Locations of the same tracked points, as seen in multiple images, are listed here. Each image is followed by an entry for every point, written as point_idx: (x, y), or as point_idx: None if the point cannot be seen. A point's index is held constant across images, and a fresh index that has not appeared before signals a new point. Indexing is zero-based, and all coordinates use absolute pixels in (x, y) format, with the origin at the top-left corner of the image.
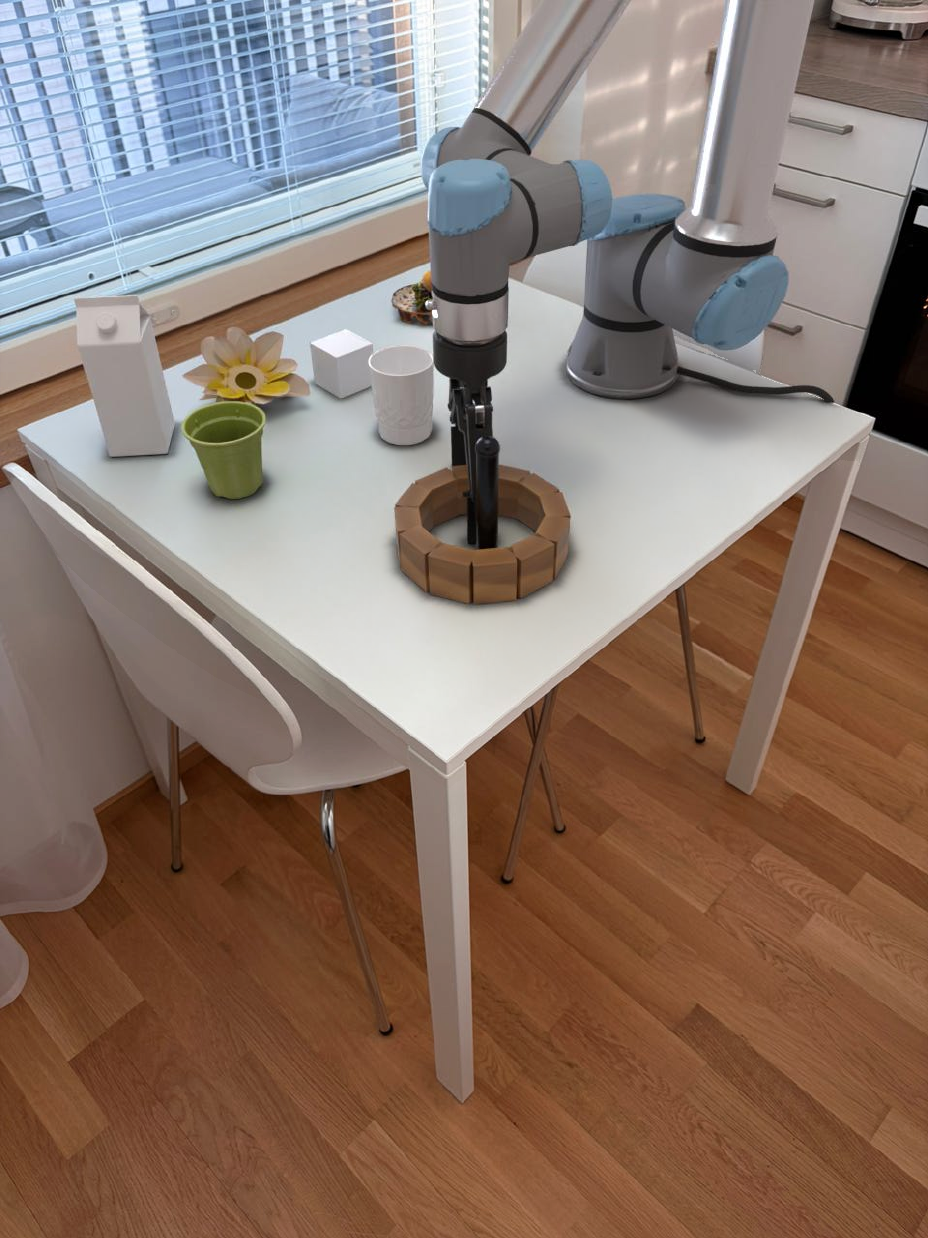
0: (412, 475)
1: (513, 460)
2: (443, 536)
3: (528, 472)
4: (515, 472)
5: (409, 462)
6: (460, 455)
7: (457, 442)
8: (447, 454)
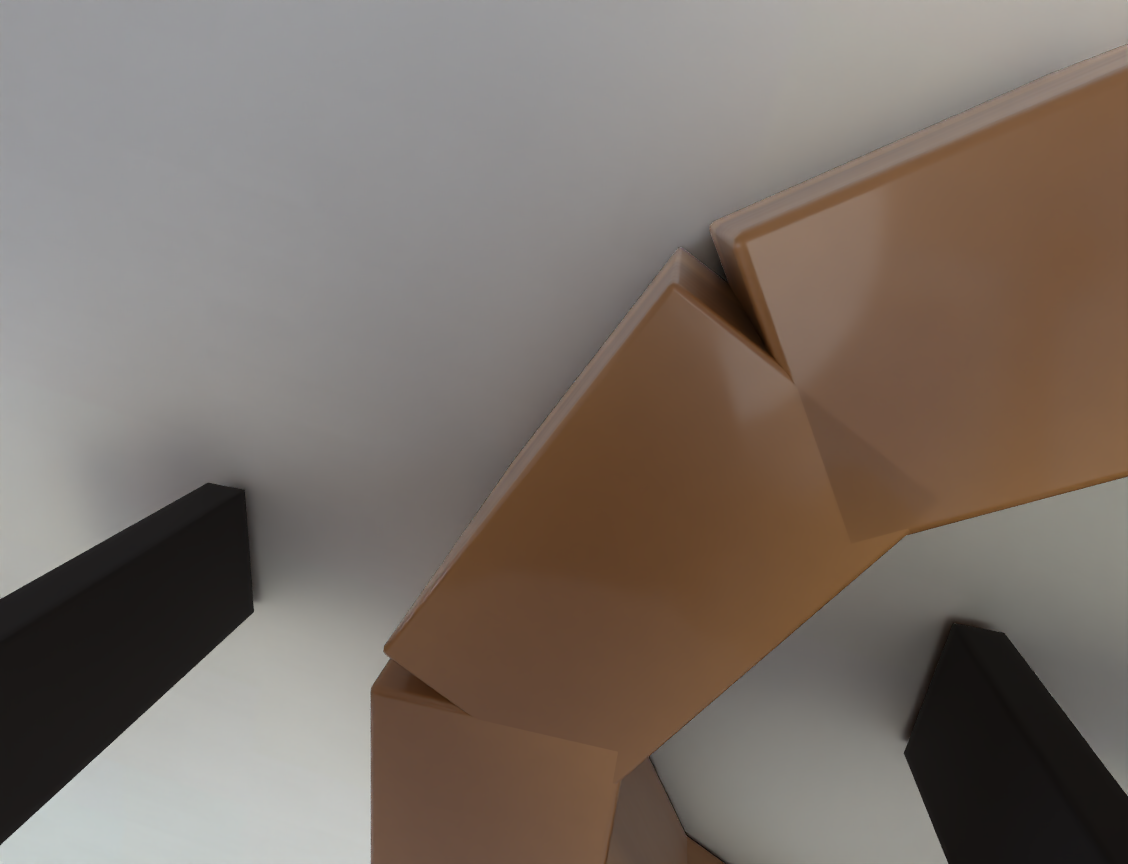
0: (211, 759)
1: (70, 173)
2: (792, 822)
3: (707, 318)
4: (649, 493)
5: None
6: (123, 672)
7: (8, 788)
8: (24, 551)
